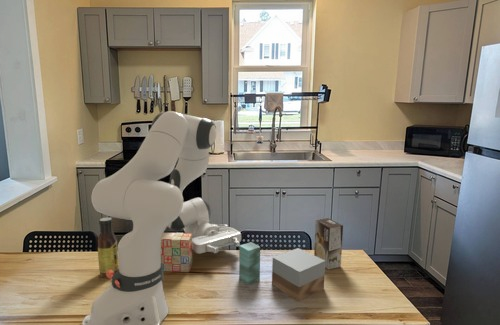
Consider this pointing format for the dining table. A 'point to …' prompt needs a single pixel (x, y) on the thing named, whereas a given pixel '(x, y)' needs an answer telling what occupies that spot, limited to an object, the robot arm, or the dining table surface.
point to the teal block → (249, 263)
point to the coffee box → (328, 242)
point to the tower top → (298, 267)
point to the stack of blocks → (176, 252)
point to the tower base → (296, 291)
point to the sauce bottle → (107, 247)
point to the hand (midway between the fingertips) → (227, 247)
